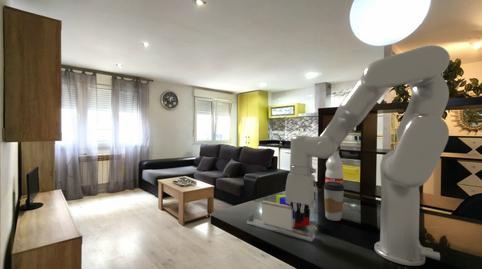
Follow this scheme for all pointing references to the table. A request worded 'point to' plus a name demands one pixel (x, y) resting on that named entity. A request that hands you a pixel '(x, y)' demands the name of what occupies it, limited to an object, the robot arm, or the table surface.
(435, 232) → the table surface
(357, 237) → the table surface
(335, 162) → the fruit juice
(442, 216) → the table surface
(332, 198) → the coffee cup
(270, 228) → the rail
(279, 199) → the puzzle toy
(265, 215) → the screen
